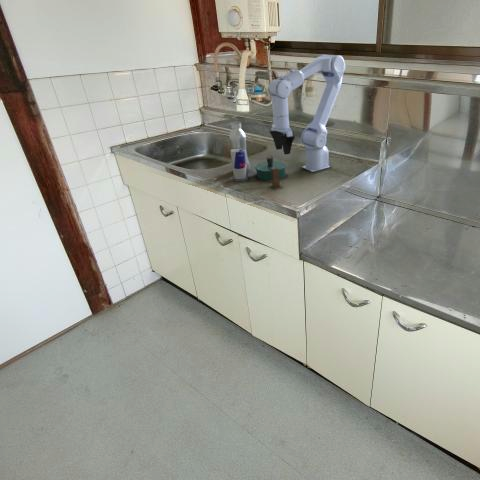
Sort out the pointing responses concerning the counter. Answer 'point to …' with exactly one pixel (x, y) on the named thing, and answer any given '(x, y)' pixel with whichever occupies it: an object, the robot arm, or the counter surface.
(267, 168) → the tin lid
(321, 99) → the robot arm
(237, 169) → the energy drink
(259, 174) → the tin
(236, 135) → the plastic bottle
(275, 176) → the stick
